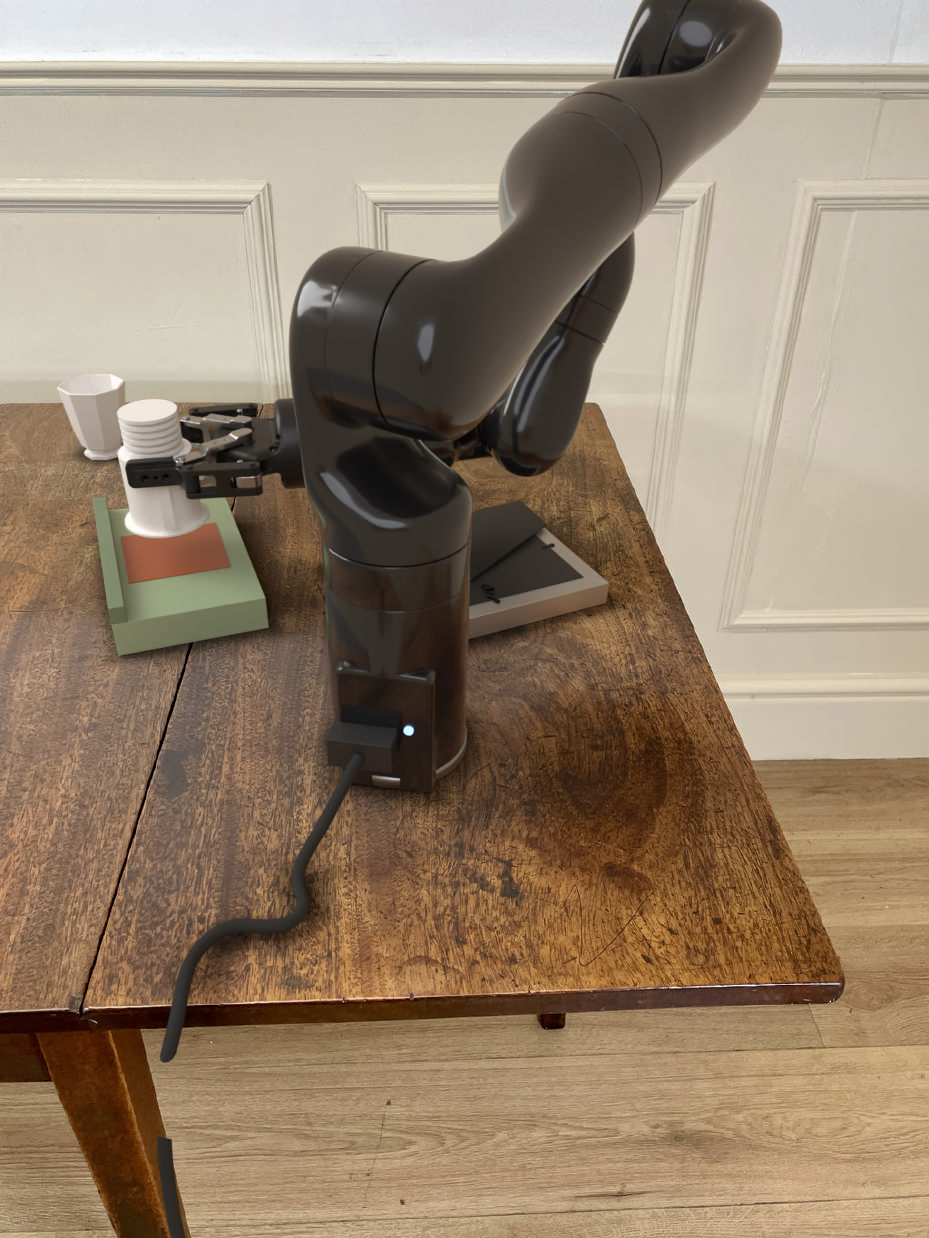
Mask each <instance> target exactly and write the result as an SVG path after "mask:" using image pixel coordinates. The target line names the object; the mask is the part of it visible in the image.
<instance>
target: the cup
mask: <svg viewBox="0 0 929 1238" xmlns="http://www.w3.org/2000/svg"><path fill="white" fill-rule="evenodd" d="M56 390H57V392H58V396H59V398H60V399H61V402H62V405H63V407H64V409H65V412H66V414H67V416H68V421H69V423H70V425H71V428H72V430H73V432H74V434H75V436H76V439H77V440H78V441H79V443H80V445H81V446H82V447H83V448H85V450H84V451H83V454H84V456H85V457H87V458H89V459H90V460H92V461H109V460H112V459H116V458H118V450H119V449H120V448H121V447H122V446H123V445H122V444H123V439H122V435H121V430H120V425H119V419H118V416H117V411H118V410H119V409H120V408H121V407H122V406H124V405H126V380H125V379H123V378H121V377H120V376H119V377H118V376H116V375H114V374H113V373H86V374H81V375H77V376H73V377H69V378H66V379H64V380H63V381H62V382H61V383H60V384H59V385H58V387H57V388H56Z"/></svg>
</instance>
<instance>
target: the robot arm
mask: <svg viewBox="0 0 929 1238" xmlns="http://www.w3.org/2000/svg"><path fill="white" fill-rule="evenodd" d="M782 48H783V27H782V22H781V19H780V17H779V15H778V14H777V12H776V11H775V10H774V9H773V8H772V7H770V6H769V5H768V4H767V3H765V2H764V1H762V0H641V2H640V3H639V6H638V7H637V10H636V12H635V14H634V16H633V19H632V21H631V23H630V25H629V28H628V30H627V33H626V35H625V37H624V41H623V44H622V46H621V49H620V51H619V54H618V58H617V61H616V64H615V67H614V71H613V73H612V76H611V79H607V80H603V81H602V80H601V81H599V82H595V83H592V84H588V85H587V86H584V87H582V88H580V89H578V90H576V91H574V92H572V93H571V94H568V95H567V96H566V97H564V98H563V99H562V100H560V101H559V102H557V104H555V106H553V107H552V108H551V109H550V110H549V111H547V112H546V113H545V114H544V115H542V117H541V118H539V119H538V120H537V121H536V122H534V123H533V124H532V125H531V126H530V127H529V128H528V129H527V130H526V131H525V132H524V133H523V134H522V135H521V136H520V137H519V138H518V139H517V140H516V142H515V143H514V144H513V146H512V148H511V149H510V151H509V152H508V154H507V156H506V158H505V162H504V164H503V167H502V170H501V171H500V172H501V173H500V177H499V184H498V191H497V192H498V193H497V198H498V199H497V200H498V201H497V202H498V218H499V226H500V232H501V234H499V236H498V237H497V238H495V240H494V241H492V242H491V243H490V244H489V245H488V246H486V247H485V248H483V249H482V250H480V251H479V252H477V253H476V254H475V255H474V254H473V255H472V256H470V257H467V258H465V259H460V260H451V261H449V260H441V259H436V258H430V257H425V256H419V255H414V254H409V253H408V254H407V253H401V252H397V251H391V250H384V249H379V248H374V247H373V248H372V247H366V246H358V245H343V246H342V245H341V246H338V247H337V246H336V247H334V248H332V249H329V250H327V251H326V252H324V253H322V254H321V255H319V256H318V257H317V258H316V259H315V260H314V261H313V262H312V263H311V265H310V266H309V267H308V268H307V270H306V271H305V273H304V274H303V276H302V278H301V280H300V283H299V285H298V287H297V289H296V292H295V296H294V300H293V304H292V308H291V313H290V318H289V327H288V329H289V330H288V344H287V345H288V346H287V347H288V369H289V378H290V387H291V396H292V397H289V398H288V397H286V398H285V397H284V398H278V399H276V400H275V401H274V403H273V416H274V417H271V418H268V417H260V414H259V406H258V403H255V402H247V403H246V402H245V403H244V402H243V403H233V404H221V405H208V406H207V405H206V406H194V407H191V408H188V411H187V412H188V415H186V414H185V415H183V416H179V422H180V428H181V434H182V438H184V439H186V440H188V441H189V442H190V443H191V447H192V449H197V450H195V451H192V453H188V454H185V455H182V456H178V457H176V458H175V459H174V457H173V456H172V457H157V458H143V459H130V460H128V461H127V462H126V466H125V471H126V475H127V480H128V484H129V486H130V487H132V488H148V487H162V486H175V485H179V488H180V489H182V490H185V492H186V497H187V498H188V499H209V498H226V499H227V498H241V497H244V498H245V497H257V496H261V495H262V494H263V493H264V487H263V483H264V482H263V477H266V476H270V475H274V474H279V475H280V481H281V485H282V487H283V488H284V489H287V490H295V489H305V490H306V491H305V492H306V494H307V496H308V499H309V500H310V502H311V504H312V506H313V508H314V510H315V512H316V513H317V516H318V522H319V529H320V530H319V531H320V540H321V541H320V542H321V543H320V544H321V558H322V557H323V561H322V571H323V586H324V587H323V588H324V589H323V590H324V604H325V617H326V618H325V620H326V635H327V649H328V650H327V651H328V664H329V665H328V666H329V679H330V680H329V681H330V694H331V695H330V697H331V707H332V719H333V721H332V724H331V727H330V728H329V731H328V734H327V736H326V739H325V742H326V743H325V745H326V757H327V759H326V760H327V766H329V767H336V768H337V767H338V768H341V777H340V778H339V781H338V782H337V784H336V786H335V788H334V790H333V792H332V794H331V796H330V798H329V799H328V801H327V803H326V805H325V807H324V809H323V810H322V813H321V815H320V816H319V818H318V820H317V822H316V823H315V825H314V827H313V829H312V830H311V832H310V833H309V835H308V836H307V838H306V840H305V841H304V843H303V845H302V846H301V849H300V851H299V852H298V855H297V857H296V859H295V862H294V864H293V867H292V870H291V871H292V872H291V878H290V879H291V880H290V881H291V887H292V892H293V895H294V899H295V902H296V906H295V909H293V911H291V912H290V913H289V914H287V915H285V916H283V917H278V918H271V919H270V918H235V919H233V918H232V919H227V920H225V921H222V922H220V923H218V924H216V925H214V926H213V927H211V928H209V929H208V930H207V931H206V932H205V933H203V935H201V937H199V938H198V939H197V940H196V942H195V943H193V944H192V946H191V948H190V949H189V950H188V952H187V954H186V956H185V957H184V959H183V961H182V963H181V966H180V968H179V971H178V974H177V977H176V981H175V987H174V991H173V996H172V1002H171V1006H170V1010H169V1011H170V1012H169V1015H168V1016H169V1017H168V1020H167V1025H166V1028H165V1033H164V1036H163V1040H162V1045H161V1049H160V1054H159V1061H160V1062H162V1064H164V1063H165V1064H166V1063H169V1062H171V1061H173V1059H174V1058H175V1056H176V1055H177V1052H178V1047H179V1044H180V1039H181V1035H182V1032H183V1027H184V1024H185V1019H186V1013H187V1008H188V1003H189V999H190V998H189V996H190V993H191V987H192V981H193V978H194V974H195V972H196V968H197V966H198V964H199V962H200V960H201V959H202V958H203V956H204V955H205V953H207V951H209V949H210V948H211V947H213V946H214V945H215V944H216V943H217V942H218V941H220V940H221V939H223V938H224V937H228V936H230V935H234V934H261V935H262V934H265V935H266V934H269V935H270V934H279V933H284V932H288V931H290V930H292V929H294V928H296V927H297V926H298V925H300V924H301V923H302V922H303V921H304V920H305V918H307V915H308V913H309V911H310V908H311V901H310V895H309V893H308V889H307V887H306V883H305V881H306V880H305V876H306V872H307V869H308V866H309V864H310V861H311V859H312V857H313V855H314V853H315V851H316V850H317V848H318V846H319V845H320V843H321V842H322V840H323V839H324V837H325V835H326V833H327V832H328V830H329V829H330V826H331V825H332V823H333V821H334V819H335V817H336V815H337V813H338V811H339V810H340V808H341V805H342V804H343V801H344V800H345V798H346V796H347V794H348V792H349V790H350V788H351V787H352V784H357V785H363V786H370V787H371V786H372V787H378V788H385V789H394V790H404V791H412V792H419V793H426V794H427V793H428V794H429V793H432V792H433V790H434V786H435V784H436V782H437V781H439V780H441V779H443V778H445V777H446V776H447V775H449V774H451V773H452V772H453V771H454V770H455V769H456V768H457V767H458V766H459V765H460V763H461V762H462V761H463V759H464V757H465V754H466V751H467V745H468V729H467V706H468V705H467V704H468V701H467V698H468V667H469V666H468V665H469V664H468V663H469V639H468V635H469V603H470V574H471V547H472V524H473V513H474V504H473V496H472V493H471V492H472V491H471V490H470V488H469V486H468V484H467V482H466V481H465V480H464V478H463V476H461V475H460V474H459V473H458V472H457V471H455V470H454V469H453V468H452V467H453V466H454V464H455V463H457V462H465V461H471V460H478V459H494V460H495V461H496V463H497V464H498V465H499V466H501V468H502V469H504V470H505V471H507V472H509V473H510V474H512V475H515V476H518V477H521V478H532V477H538V476H540V475H543V474H544V473H547V472H548V471H550V470H551V469H553V468H554V467H555V466H556V465H557V464H558V463H559V462H560V461H561V460H562V458H563V457H564V456H565V454H566V452H567V451H568V450H569V447H570V445H571V444H572V441H573V440H574V437H575V436H576V433H577V430H578V428H579V424H580V422H581V418H582V414H583V411H584V407H585V403H586V400H587V397H588V393H589V391H590V386H591V382H592V377H593V372H594V368H595V365H596V363H597V360H598V358H599V357H600V355H601V353H602V351H603V350H604V347H605V344H606V343H607V342H608V339H609V337H610V335H611V333H612V331H613V328H614V326H615V324H616V322H617V321H618V318H619V315H620V314H621V312H622V309H623V308H624V306H625V303H626V301H627V298H628V297H629V293H630V290H631V287H632V284H633V279H634V274H635V267H636V266H635V265H636V235H635V234H636V233H635V230H636V229H637V228H638V227H639V226H640V225H641V224H642V222H643V221H644V220H645V219H646V218H647V217H648V216H649V215H650V214H651V212H652V211H653V210H654V208H655V207H656V206H657V205H658V204H659V202H660V201H661V200H662V199H663V197H664V196H665V195H666V194H667V192H668V191H669V190H670V189H671V188H672V187H673V186H674V184H675V183H676V182H677V181H678V180H679V179H680V178H681V177H682V176H683V175H684V174H685V172H686V171H688V170H689V169H690V168H691V167H692V166H693V165H694V164H695V163H696V162H698V161H699V160H700V159H701V158H703V157H704V156H705V155H706V154H708V153H709V152H710V151H711V150H713V149H714V148H715V147H717V146H718V145H719V144H720V143H722V142H723V141H724V140H725V139H726V138H728V137H729V136H730V135H731V134H732V133H733V132H734V131H736V130H737V128H739V127H740V125H742V124H743V122H744V121H745V120H746V119H747V118H748V117H749V115H751V113H752V112H753V110H754V109H755V107H756V106H757V105H758V104H759V102H760V101H761V99H762V97H763V95H764V94H765V93H766V90H767V89H768V87H769V85H770V83H771V82H772V80H773V77H774V75H775V74H776V73H775V72H776V70H777V68H778V65H779V61H780V57H781V55H782ZM174 460H175V462H174ZM204 485H209V486H204ZM156 1145H157V1147H156V1148H157V1160H158V1171H159V1179H160V1186H161V1193H162V1200H163V1205H164V1211H165V1212H164V1213H165V1216H166V1222H167V1228H168V1232H169V1235H170V1238H187V1237H186V1232H185V1228H184V1227H185V1226H184V1223H183V1219H182V1213H181V1209H180V1208H181V1206H180V1202H179V1196H178V1189H177V1183H176V1174H175V1173H176V1172H175V1166H174V1153H173V1151H174V1150H173V1139H172V1138H168V1137H163V1136H156Z"/></svg>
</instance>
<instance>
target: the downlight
mask: <svg viewBox="0 0 929 1238" xmlns="http://www.w3.org/2000/svg"><path fill="white" fill-rule="evenodd" d="M117 416H118V419H119V425H120V430H121V435H122V439H123V442H122V444H123V445H122V447H121V448H120V449H119V450H118V457H117V458H118V463H119V467H120V468H119V469H120V472H121V477H122V481H123V487H124V491H125V494H126V499H127V504H128V508H129V509H130V511H129V512H128V514H127V515H126V517H125V526H126V528H127V529H128V530H129V531H130V532H132V533H134V534H136V535H139V536H143V537H149V538H167V537H174V536H179V535H183V534H186V533H189V532H191V531H194V530H196V529H198V528H199V527H201V526H202V525H203V524H205V523H206V521H207V520H208V519H209V516H210V511H209V508H208V506H207V505H206V504H205V503H203V502H202V501H200V499H188V498H187V497H186V492H185V490H182V489H180V488H179V485H175V486H162V487H148V488H132V487H130V486H129V484H128V480H127V475H126V471H125V466H126V462H127V461H128V460H130V459H143V458H157V457H172V456H173V457H174V459H175V458H176V457H178V456H182V455H185V454H188V453H192V452H193V448H192V447H191V443H190V442H189V441H188V440H186V439H184V438H182V434H181V428H180V422H179V421H180V416H179V412H178V406H177V404H176V403H174V402H172V401H170V400H166V399H160V398H151V399H150V398H149V399H140V400H135V401H131V402H128V403H125V405H124V406H122V407H121V408H120V409H119V410H118V411H117ZM174 462H175V460H174Z"/></svg>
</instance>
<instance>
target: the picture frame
mask: <svg viewBox="0 0 929 1238" xmlns="http://www.w3.org/2000/svg"><path fill="white" fill-rule="evenodd" d="M545 527H547V523H546V521H545V520H543V519H542V518H541V517H540V516H539V515H538V514H536V512H534V511H533V510H532V509H531V508H530V507H529V506H528V505H527V504H526V503H525V502H523V501H522V500H517V501H511V502H508V503H503V504H497V505H493V506H488V507H483V508H478V509H475V510H474V511H473V524H472V547H471V574H470V603H469V635H468V640H472V639H476V638H479V637H483V636H487V635H491V634H495V633H498V632H501V631H505V630H509V629H513V628H517V627H521V626H525V625H528V624H532V623H536V622H540V621H543V620H548V619H551V618H555V617H559V616H562V615H566V614H570V613H573V612H574V613H575V612H579V611H581V610H584V609H589V608H593V607H596V606H600V605H603V604H607V603H608V602H607V601H608V594H609V587H610V586H609V585H610V582H608V581H607V580H606V579H605V578H604V577H603V576H601V575H600V574H599V573H598V572H597V571H596V570H595V569H593V568H592V567H591V566H589V564H587V562H585V561H584V560H583V559H581V557H579V556H578V555H577V554H576V553H574V552H573V550H571V549H570V548H569V547H567V545H565V544H564V543H563V542H562V541H560V540H559V539H558V538H557V537H556V536H555V535H554V534H553V533H551V532H550V531H549V530H548V529H547V528H545ZM321 559H322V562H323V557H322V556H321Z"/></svg>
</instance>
